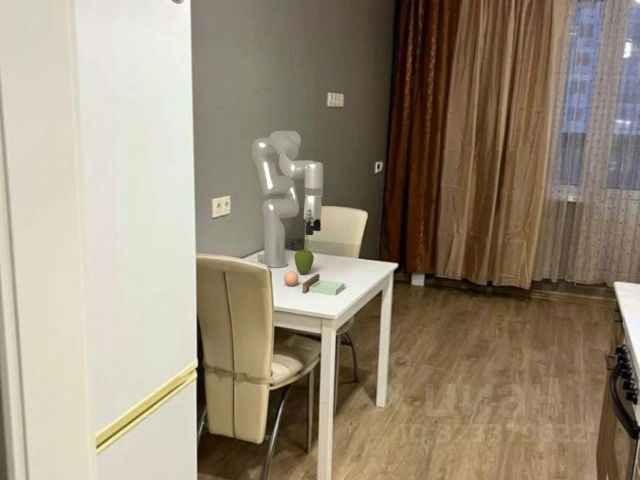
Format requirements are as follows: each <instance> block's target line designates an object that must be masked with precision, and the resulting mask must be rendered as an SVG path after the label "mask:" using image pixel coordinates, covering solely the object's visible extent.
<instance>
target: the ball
mask: <svg viewBox="0 0 640 480" xmlns="http://www.w3.org/2000/svg"><path fill="white" fill-rule="evenodd" d="M283 281H284V283H285V284H286V285H287V286H290V287H292V286H295V285H296V284H298V282H299V275H298V273H296V272H295V271H292V270H291V271H288V272H286V273H285V274H284V276H283Z"/></svg>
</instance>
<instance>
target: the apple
mask: <svg viewBox="0 0 640 480" xmlns="http://www.w3.org/2000/svg"><path fill="white" fill-rule="evenodd" d="M293 258H294V263H295V267H296V270H297V271H298V273H299V274H300V275H307V274H308V273H309V272H311V269H312V266H313V263H314V260H315V259H314V258H315V256H314V255H313V252H312V251H311V250H308V249H307V250H306V249H300V250H297V251H296V252H295V253H294V257H293Z"/></svg>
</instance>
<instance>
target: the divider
mask: <svg viewBox="0 0 640 480" xmlns="http://www.w3.org/2000/svg"><path fill="white" fill-rule="evenodd" d="M320 275H321V274H319V273H316V274H315V275H313V276H312V277H310V278H308V279H307V280H306V281H304V282H302V294H306V293H308V292H309V287H310V286H312V285H313V284H314V283H316V282H317V281H319V280H320Z"/></svg>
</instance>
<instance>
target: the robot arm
mask: <svg viewBox="0 0 640 480" xmlns="http://www.w3.org/2000/svg"><path fill="white" fill-rule="evenodd" d="M301 143H302V138H301V135H300V134H299V133H298V132H297V131H295V130H276V131H273V132H271V134H270V135H269V136H268V137H259V138H257V139H254V140H253V142H252V144H251V156H252V159H253V162H254V164H255V167H256V168H257V173H258V178H259V183H260V188H261V191H262V194H263V195H264V196H266V197H274V198H269V199H266V200H264V201H263V203H262V204H261V205H262V206H261V210H262V215H263V223H264V224H263V225H264V228H263V229H264V232H263V233H264V239H263V240H264V247H263V248H264V251H263V252H264V253H263V255H262V254H257V257H256V258H257V260H261V262H260V264H261V263H262V264H265V265H267V266H270V267H271V268H272V269H273V268H274V269H276V268H277V269H278V268H284V267H287V266H288V265H289V263H288V261H287V260H285V259H286V257H285V253H286V251H285V249H286V247H285V246H286V245H285V241H286V238H285V234H286V229H285V226H284V223H282V221H281V219H282V220H283V219H289V218H295V217H297V216H298V215H299V212H300V204H299V200H298V194H297V189H296V188H297V187H296V183H295V181H294V180H298V179H304V196H305V198H304V209H303V220H304V221H305V224H304V225H305V236H313V235H314V232H321V231H322V229H321V228H322V227H321V226H322V223H321V222H322V211H323V210H322V197H323V196H324V195H323V193H324V192H323V191H324V189H323V188H324V164H323V163H322V162H320V161H314V160H309V159H306V160H301V159H300V160H296V158H297V157H298V156H299V152H300V151H299V150H300V149H299V148H300V146H302V144H301ZM269 157H279V158H278V165H279V169H280V171H281V172H282V173H283V175H278V171H277V167H276V165H275V163H274V161H272V159H270V158H269ZM275 197H276V198H275ZM270 267H269V268H270Z"/></svg>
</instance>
